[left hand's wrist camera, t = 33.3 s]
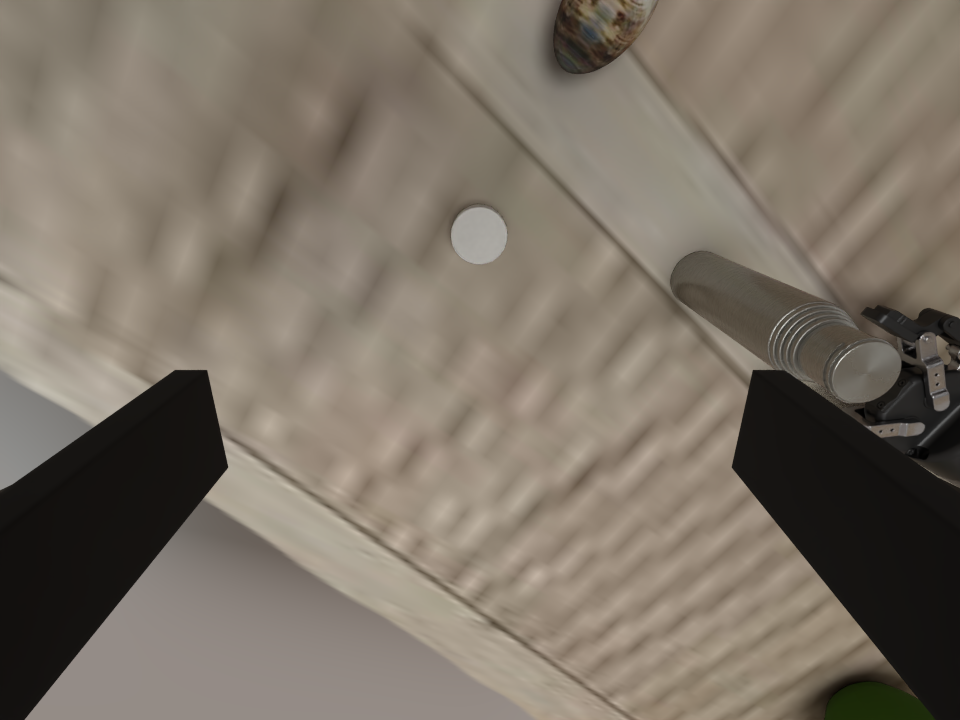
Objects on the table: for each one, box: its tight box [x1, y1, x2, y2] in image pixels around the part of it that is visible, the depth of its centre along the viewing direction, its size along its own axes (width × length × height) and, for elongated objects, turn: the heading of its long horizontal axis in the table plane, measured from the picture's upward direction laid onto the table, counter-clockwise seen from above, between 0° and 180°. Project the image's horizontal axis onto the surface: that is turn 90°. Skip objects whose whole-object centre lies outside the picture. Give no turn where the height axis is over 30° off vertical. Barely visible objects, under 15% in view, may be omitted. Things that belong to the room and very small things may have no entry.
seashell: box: [553, 0, 658, 74], centre depth 34 cm, size 10×6×8 cm, turn 143°
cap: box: [451, 204, 508, 264], centre depth 43 cm, size 5×5×3 cm
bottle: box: [671, 251, 901, 404], centre depth 36 cm, size 5×5×21 cm
